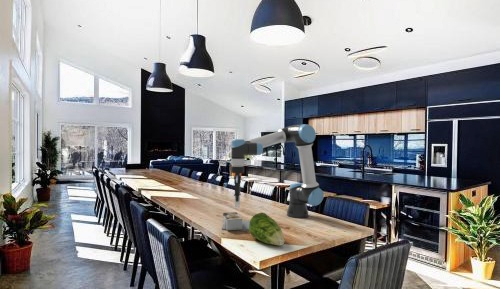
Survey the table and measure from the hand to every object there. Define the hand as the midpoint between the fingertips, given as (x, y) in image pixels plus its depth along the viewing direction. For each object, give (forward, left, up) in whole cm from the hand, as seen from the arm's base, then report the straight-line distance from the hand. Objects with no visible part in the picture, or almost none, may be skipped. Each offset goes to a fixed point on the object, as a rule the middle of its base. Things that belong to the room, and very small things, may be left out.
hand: (237, 206), depth 173 cm
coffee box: (+1, 0, -11) cm, 11 cm away
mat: (0, -12, -15) cm, 19 cm away
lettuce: (-18, +16, -15) cm, 28 cm away
